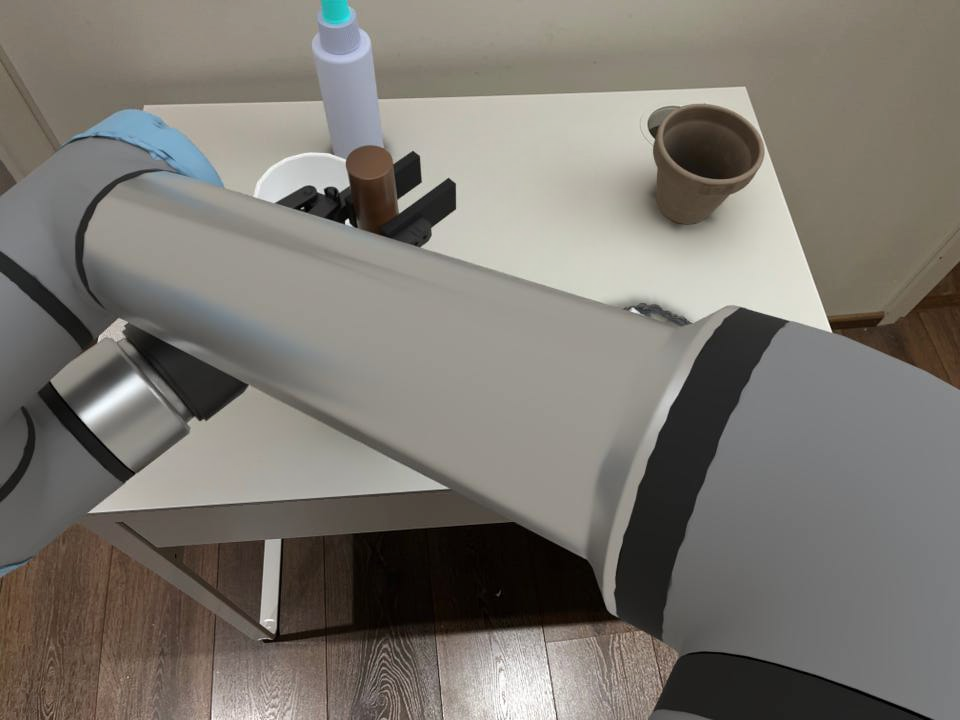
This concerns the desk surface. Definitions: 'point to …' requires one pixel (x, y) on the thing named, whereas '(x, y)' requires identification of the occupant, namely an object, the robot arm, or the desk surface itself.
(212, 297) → the robot arm
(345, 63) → the spray bottle
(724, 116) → the flower pot
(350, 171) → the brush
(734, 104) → the desk surface
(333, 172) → the cup
